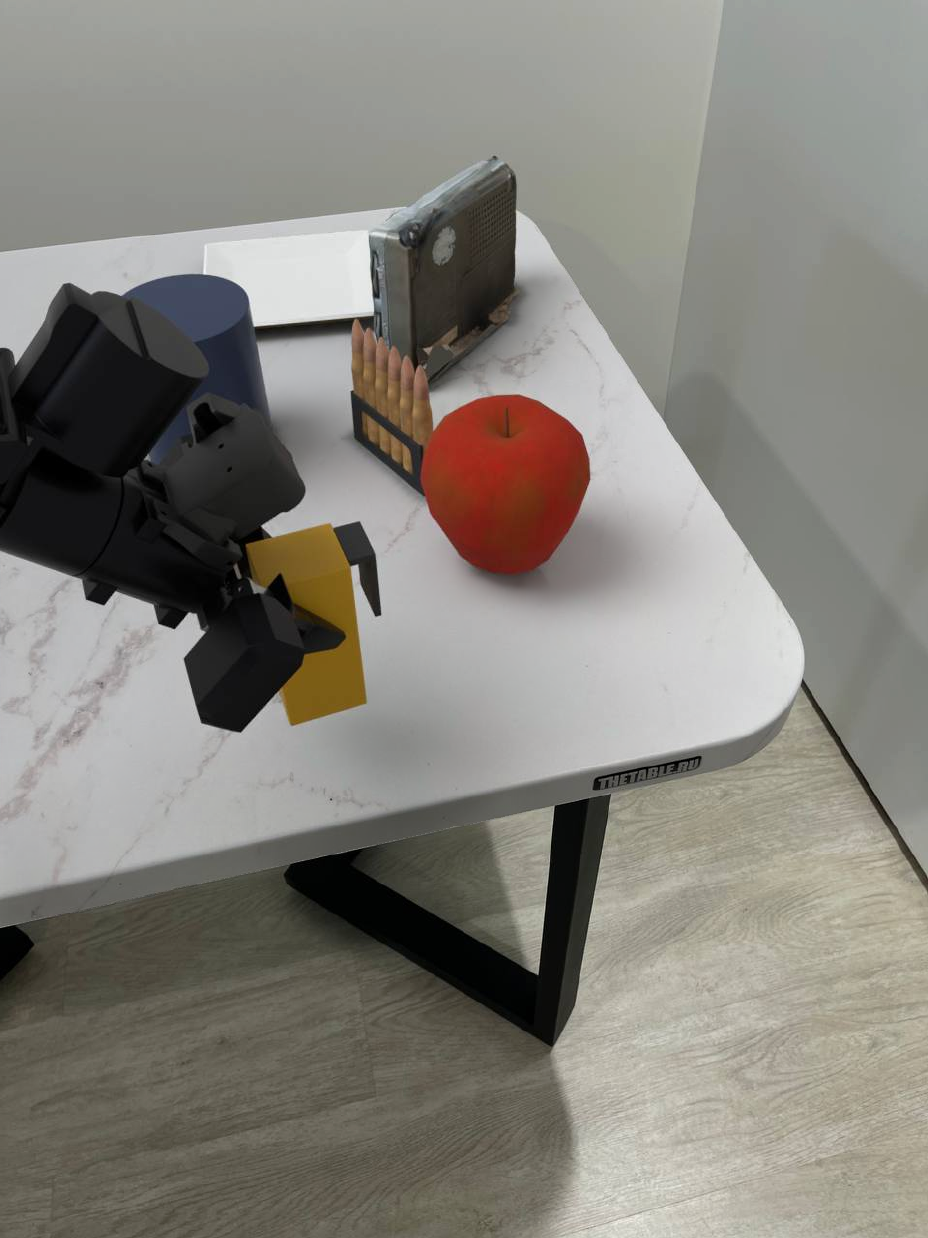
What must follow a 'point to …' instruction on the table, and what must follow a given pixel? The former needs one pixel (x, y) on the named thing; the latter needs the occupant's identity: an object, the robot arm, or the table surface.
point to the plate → (298, 276)
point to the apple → (505, 481)
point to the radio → (446, 267)
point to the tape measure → (322, 610)
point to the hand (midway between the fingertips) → (331, 616)
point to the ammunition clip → (390, 406)
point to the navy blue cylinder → (210, 342)
